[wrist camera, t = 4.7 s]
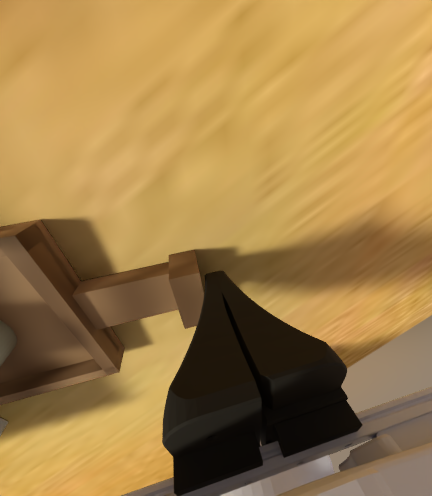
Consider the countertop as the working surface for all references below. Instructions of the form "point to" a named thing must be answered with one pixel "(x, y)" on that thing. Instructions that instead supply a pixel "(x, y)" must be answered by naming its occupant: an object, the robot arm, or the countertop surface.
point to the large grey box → (2, 425)
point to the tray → (77, 310)
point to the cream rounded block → (6, 341)
